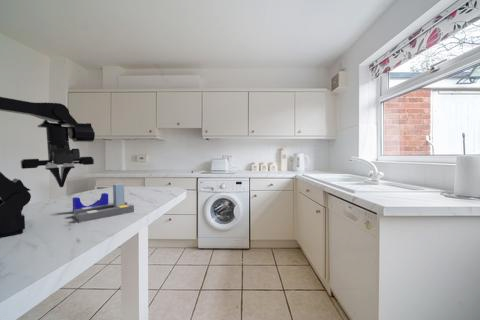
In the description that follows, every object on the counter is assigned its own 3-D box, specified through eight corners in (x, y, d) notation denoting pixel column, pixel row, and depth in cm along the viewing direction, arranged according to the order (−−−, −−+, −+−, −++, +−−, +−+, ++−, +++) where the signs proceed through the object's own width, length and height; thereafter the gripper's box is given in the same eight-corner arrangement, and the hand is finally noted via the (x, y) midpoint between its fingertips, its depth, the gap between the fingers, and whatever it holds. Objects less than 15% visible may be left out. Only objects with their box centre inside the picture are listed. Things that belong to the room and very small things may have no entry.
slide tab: (116, 209, 86) (115, 185, 86) (113, 208, 89) (112, 184, 89) (124, 208, 89) (124, 184, 88) (121, 206, 91) (121, 183, 91)
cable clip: (103, 205, 98) (103, 192, 98) (108, 207, 96) (108, 193, 96) (71, 211, 89) (71, 197, 88) (75, 213, 86) (75, 198, 86)
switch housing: (79, 222, 75) (79, 214, 75) (73, 216, 82) (73, 209, 82) (134, 211, 88) (133, 205, 88) (125, 207, 95) (125, 201, 95)
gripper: (21, 140, 62) (25, 195, 63) (97, 141, 76) (99, 185, 77) (18, 141, 70) (22, 190, 71) (88, 141, 83) (90, 182, 84)
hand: (61, 187), depth 75 cm, fingers closed
